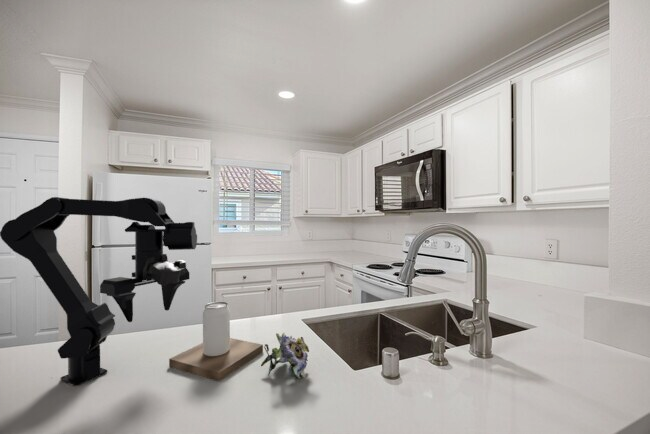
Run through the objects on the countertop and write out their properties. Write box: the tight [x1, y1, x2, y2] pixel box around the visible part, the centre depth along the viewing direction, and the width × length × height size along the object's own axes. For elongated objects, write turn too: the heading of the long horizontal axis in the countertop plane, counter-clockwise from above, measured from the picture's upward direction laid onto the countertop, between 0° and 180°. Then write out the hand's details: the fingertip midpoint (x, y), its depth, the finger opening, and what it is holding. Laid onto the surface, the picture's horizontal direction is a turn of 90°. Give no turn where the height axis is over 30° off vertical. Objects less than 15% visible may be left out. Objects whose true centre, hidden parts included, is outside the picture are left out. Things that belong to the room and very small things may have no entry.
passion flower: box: [260, 332, 310, 381], centre depth 68 cm, size 11×11×12 cm
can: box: [202, 301, 231, 357], centre depth 76 cm, size 6×6×12 cm
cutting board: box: [168, 337, 264, 382], centre depth 76 cm, size 16×16×2 cm
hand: (149, 315), depth 71 cm, fingers open, 9 cm apart
